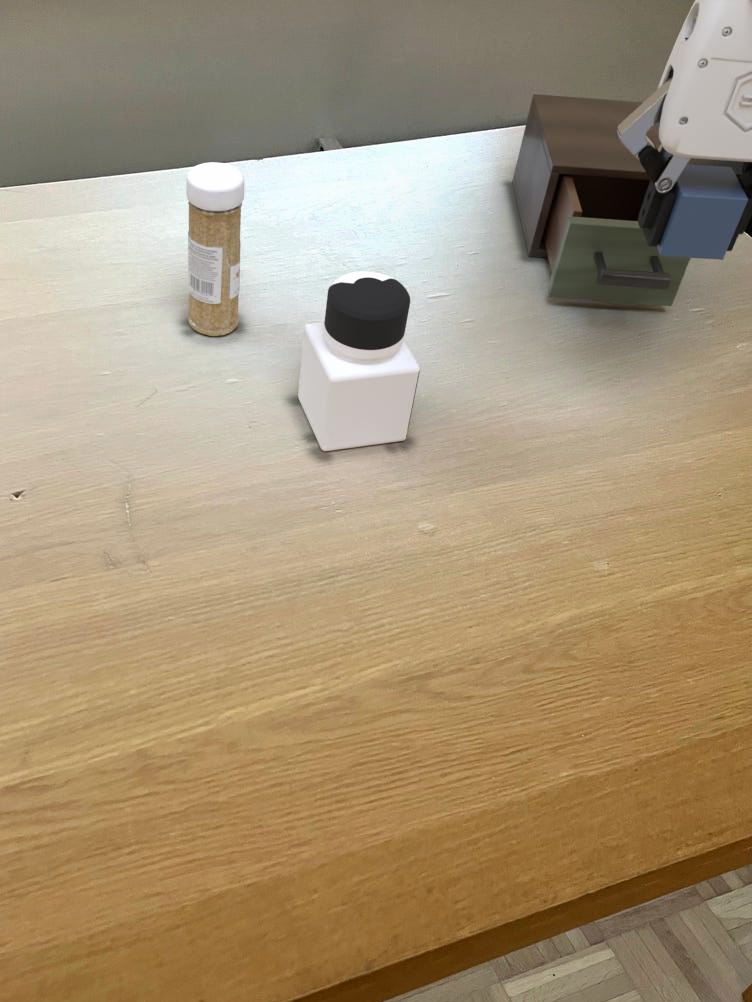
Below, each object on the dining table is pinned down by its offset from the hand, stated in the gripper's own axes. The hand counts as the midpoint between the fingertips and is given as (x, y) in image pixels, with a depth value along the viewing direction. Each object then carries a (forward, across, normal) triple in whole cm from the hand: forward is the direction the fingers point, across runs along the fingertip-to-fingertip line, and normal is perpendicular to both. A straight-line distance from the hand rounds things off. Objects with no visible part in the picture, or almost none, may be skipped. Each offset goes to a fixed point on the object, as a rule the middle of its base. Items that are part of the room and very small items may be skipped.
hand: (686, 236), depth 77 cm
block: (0, 0, 0) cm, 0 cm away
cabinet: (+15, +1, +29) cm, 33 cm away
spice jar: (+15, -35, +8) cm, 39 cm away
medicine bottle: (+15, -23, -4) cm, 28 cm away
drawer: (+14, +1, +18) cm, 23 cm away
